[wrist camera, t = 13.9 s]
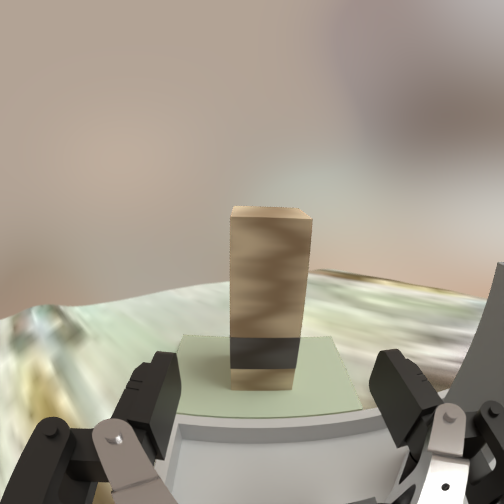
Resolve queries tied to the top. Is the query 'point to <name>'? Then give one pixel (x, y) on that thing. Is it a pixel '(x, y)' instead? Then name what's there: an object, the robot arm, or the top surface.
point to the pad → (263, 402)
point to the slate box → (484, 359)
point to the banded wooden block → (267, 295)
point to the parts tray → (282, 459)
